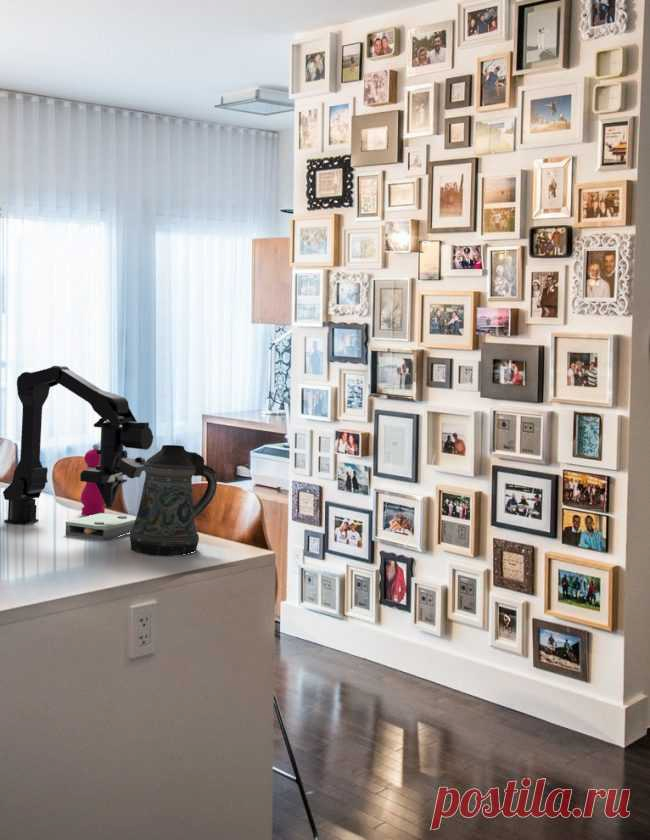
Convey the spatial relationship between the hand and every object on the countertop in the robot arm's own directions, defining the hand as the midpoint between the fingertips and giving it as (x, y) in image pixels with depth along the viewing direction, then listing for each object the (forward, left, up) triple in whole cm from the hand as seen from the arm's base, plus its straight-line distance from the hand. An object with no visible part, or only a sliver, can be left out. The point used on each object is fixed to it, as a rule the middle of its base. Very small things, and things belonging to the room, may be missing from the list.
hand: (109, 507), depth 257 cm
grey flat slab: (-2, +1, -7) cm, 7 cm away
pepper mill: (-19, +23, -7) cm, 31 cm away
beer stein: (+21, -7, -7) cm, 23 cm away
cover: (-2, +1, -4) cm, 5 cm away
